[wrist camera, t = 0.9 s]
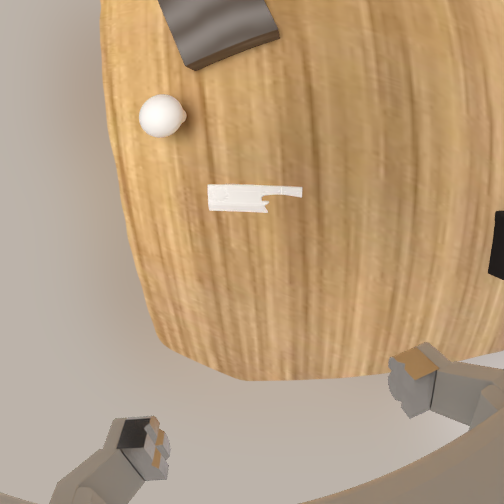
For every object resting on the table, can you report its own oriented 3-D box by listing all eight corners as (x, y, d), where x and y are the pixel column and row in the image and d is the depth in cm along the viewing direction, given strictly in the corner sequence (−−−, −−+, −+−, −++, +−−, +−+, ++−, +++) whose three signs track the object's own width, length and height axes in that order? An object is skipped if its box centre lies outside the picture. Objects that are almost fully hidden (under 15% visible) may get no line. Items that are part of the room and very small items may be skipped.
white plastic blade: (300, 216, 50) (300, 218, 49) (209, 212, 51) (208, 214, 50) (302, 186, 48) (302, 187, 47) (208, 182, 49) (207, 184, 48)
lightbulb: (157, 110, 45) (124, 110, 35) (188, 91, 43) (160, 84, 33) (174, 141, 47) (144, 147, 37) (205, 122, 45) (182, 123, 35)
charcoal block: (168, 6, 37) (156, -3, 32) (246, -27, 34) (241, -40, 29) (195, 71, 42) (185, 66, 37) (279, 38, 38) (278, 29, 34)
